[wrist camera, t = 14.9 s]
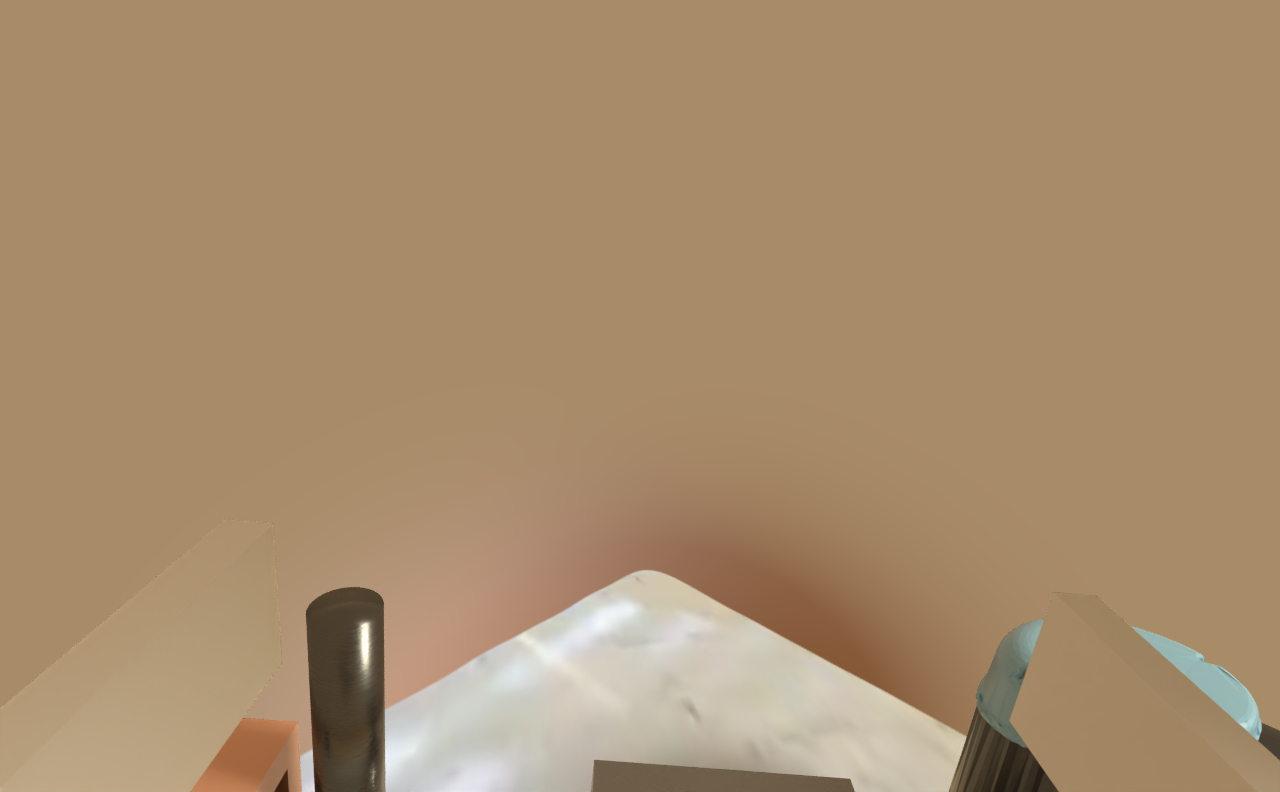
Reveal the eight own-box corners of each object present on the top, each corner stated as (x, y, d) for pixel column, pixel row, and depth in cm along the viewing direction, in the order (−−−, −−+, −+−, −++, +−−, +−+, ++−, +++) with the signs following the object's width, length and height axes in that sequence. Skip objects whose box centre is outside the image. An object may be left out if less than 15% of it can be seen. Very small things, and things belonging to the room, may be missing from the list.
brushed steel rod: (637, 882, 43) (676, 614, 37) (637, 943, 39) (681, 659, 33) (250, 856, 42) (224, 576, 36) (216, 917, 38) (181, 618, 32)
